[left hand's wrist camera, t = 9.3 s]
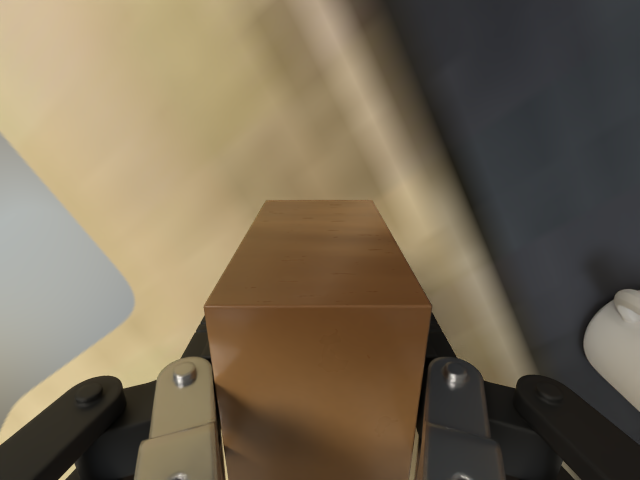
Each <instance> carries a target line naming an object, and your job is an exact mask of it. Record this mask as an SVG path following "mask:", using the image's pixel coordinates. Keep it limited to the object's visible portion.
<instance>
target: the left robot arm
mask: <svg viewBox="0 0 640 480" xmlns="http://www.w3.org/2000/svg"><path fill="white" fill-rule="evenodd" d="M416 428H417V432H418V434H419V436H418V444H417V456H416V467H415V479H414V480H574V478H573V477H572V476H571V475H570V474H569V473H568V472H567V471H566V470H565V469H564V468H563V467H562V466H561V465H562V462H563V461H564V462H565V463H566V464H567V465H568V466H569V467H570V468H571V469H572V470H573V471H574V472H575V473H576V474H577V475H578V476H579V477H580V478H581V479H582V480H640V445H639V444H637V443H636V442H635V441H634V440H632V439H631V438H630V437H629V436H627V435H626V434H625V433H624V432H622V431H621V430H620V429H619V428H618V427H616V426H615V425H614V424H613V423H611V422H610V421H609V420H608V419H606V418H605V417H604V416H603V415H601V414H600V413H599V412H598V411H597V410H595V409H594V408H593V407H592V406H590V405H589V404H588V403H587V402H585V401H584V400H583V399H582V398H580V397H579V396H578V395H577V394H575V393H574V392H573V391H572V390H571V389H569V388H568V387H566V386H565V385H563V384H562V383H560V382H558V381H556V380H553V379H551V378H548V377H545V376H540V375H526V376H523V377H521V378H520V379H519V380H518V382H517V385H516V389H515V388H511V387H507V386H503V385H498V384H494V383H490V382H487V381H484V380H483V377H482V375H481V373H480V372H479V371H478V370H477V369H476V368H475V367H474V366H473V365H471V364H470V363H468V362H466V361H464V360H461V359H458V358H457V357H456V355H455V353H454V352H453V350H452V348H451V346H450V344H449V342H448V341H447V339H446V337H445V335H444V333H443V332H442V330H441V328H440V326H439V324H437V321H436V319H435V317H434V315H433V313H432V312H431V319H430V326H429V334H428V341H427V348H426V356H425V363H424V371H423V378H422V385H421V393H420V400H419V408H418V415H417V423H416ZM74 463H75V466H76V469H75V470H74V471H73V472H72V473H71V474H70V475H69V476H68V477H67V478H66V480H226V479H225V467H224V455H223V444H222V436H221V424H220V417H219V410H218V403H217V396H216V389H215V382H214V375H213V368H212V361H211V354H210V347H209V340H208V333H207V326H206V319H205V316H204V317H203V319H202V321H201V324H200V325H199V326H198V328H197V330H196V333H195V334H194V335H193V337H192V339H191V341H190V343H189V344H188V346H187V348H186V350H185V352H184V353H183V355H182V357H181V359H179V360H176V361H174V362H172V363H170V364H169V365H167V366H166V367H165V368H164V369H163V370H162V371H161V372H160V373H159V375H158V377H157V380H155V381H152V382H149V383H146V384H141V385H137V386H133V387H129V388H124V389H123V386H122V383H121V381H120V380H119V379H118V378H116V377H113V376H99V377H94V378H91V379H88V380H85V381H83V382H81V383H79V384H77V385H76V386H74V387H72V388H71V389H70V390H68V391H67V392H66V393H65V394H63V395H62V396H61V397H60V398H58V399H57V400H56V401H55V402H53V403H52V404H51V405H50V406H48V407H47V408H46V409H45V410H43V411H42V412H41V413H40V414H39V415H37V416H36V417H35V418H34V419H32V420H31V421H30V422H29V423H27V424H26V425H25V426H24V427H22V428H21V429H20V430H19V431H18V432H16V433H15V434H14V435H13V436H11V437H10V438H9V439H8V440H6V441H5V442H4V443H3V444H1V445H0V480H58V479H59V478H60V477H61V476H62V475H63V474H64V473H65V472H66V471H67V470H68V469H69V468H70V467H71V466H72V465H73V464H74Z"/></svg>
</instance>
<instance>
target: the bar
mask: <svg viewBox="0 0 640 480" xmlns="http://www.w3.org/2000/svg"><path fill="white" fill-rule="evenodd" d="M431 311H432V305H431V303H430V301H429V300H428V298H427V296H426V294H425V293H424V291H423V289H422V287H421V285H420V284H419V282H418V280H417V278H416V277H415V275H414V273H413V271H412V270H411V268H410V266H409V264H408V262H407V261H406V259H405V257H404V255H403V254H402V252H401V250H400V248H399V247H398V245H397V243H396V241H395V239H394V238H393V236H392V234H391V232H390V231H389V229H388V227H387V225H386V224H385V222H384V220H383V218H382V216H381V215H380V213H379V211H378V209H377V208H376V206H375V204H374V202H373V201H372V200H266V201H265V203H264V205H263V207H262V208H261V210H260V212H259V213H258V215H257V217H256V218H255V220H254V222H253V223H252V225H251V227H250V229H249V230H248V232H247V234H246V235H245V237H244V239H243V240H242V242H241V244H240V245H239V247H238V249H237V251H236V252H235V254H234V256H233V257H232V259H231V261H230V262H229V264H228V266H227V268H226V269H225V271H224V273H223V274H222V276H221V278H220V279H219V281H218V283H217V284H216V286H215V288H214V290H213V291H212V293H211V295H210V296H209V298H208V300H207V301H206V303H205V305H204V312H205V319H206V326H207V333H208V340H209V347H210V354H211V361H212V368H213V375H214V382H215V389H216V396H217V403H218V410H219V417H220V424H221V431H222V438H223V445H224V452H225V459H226V466H227V473H228V480H409V475H410V467H411V460H412V452H413V445H414V437H415V430H416V423H417V415H418V408H419V400H420V393H421V385H422V378H423V371H424V363H425V356H426V348H427V341H428V334H429V326H430V319H431Z"/></svg>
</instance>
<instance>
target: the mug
mask: <svg viewBox="0 0 640 480" xmlns="http://www.w3.org/2000/svg"><path fill="white" fill-rule="evenodd" d="M583 347H584V352H585V355H586V357H587V359H588V361H589V362H590V364H591V365H592V366H593V367H594V368H595V369H596V370H597V372H598V373H599V374H600V375H601V376H602V377H603V378H604V379H605V380H607V381H608V382H609V383H610V384H611V385H612V386H613V387H614V388H615V389H616V390H617V391H618V392H619V393H620V394H621V395H622V396H624V397H625V398H626V399H627V400H628V401H629V402H630V403H631V404H632V405H633V406H634V407H635V408H636V409H637V410H638V411H639V412H640V290H638V291H637V290H633V289H624V290H621V291H618V292H617V293H616V294H615V297H614V300H612V301H610V302H609V303H607V304H606V305H605V306H604V307H602V308H601V309H600V310H599V311H598V312H597V313H596V314H595V315H594V317H593V318H592V319H591V321H590V323H589V324H588V326H587V329H586V331H585V335H584V341H583Z"/></svg>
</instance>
